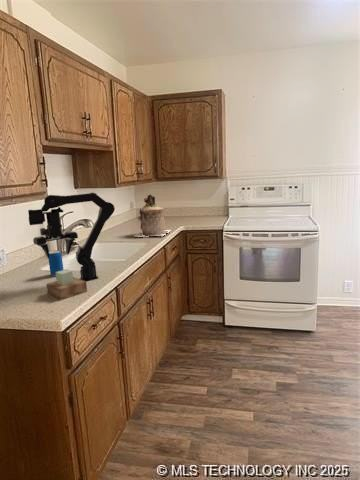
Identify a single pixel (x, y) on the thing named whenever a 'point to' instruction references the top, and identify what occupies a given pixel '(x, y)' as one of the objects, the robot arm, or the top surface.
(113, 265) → the top surface
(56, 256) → the beverage can
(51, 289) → the walnut block
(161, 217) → the cookie jar
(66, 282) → the sage green block
